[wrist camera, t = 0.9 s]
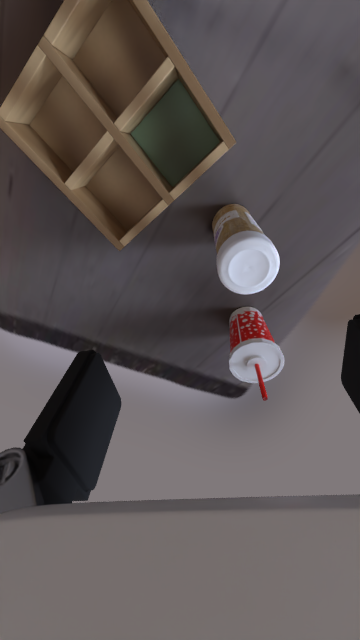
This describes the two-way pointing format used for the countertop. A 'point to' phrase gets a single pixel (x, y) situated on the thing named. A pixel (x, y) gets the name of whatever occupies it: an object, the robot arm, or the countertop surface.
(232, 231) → the sprinkles bottle
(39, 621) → the robot arm
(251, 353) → the beverage cup
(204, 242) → the countertop surface
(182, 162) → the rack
